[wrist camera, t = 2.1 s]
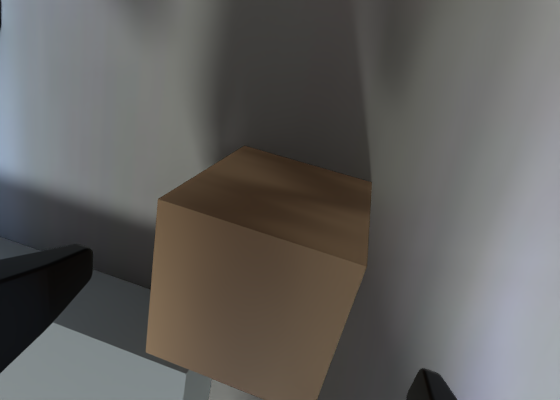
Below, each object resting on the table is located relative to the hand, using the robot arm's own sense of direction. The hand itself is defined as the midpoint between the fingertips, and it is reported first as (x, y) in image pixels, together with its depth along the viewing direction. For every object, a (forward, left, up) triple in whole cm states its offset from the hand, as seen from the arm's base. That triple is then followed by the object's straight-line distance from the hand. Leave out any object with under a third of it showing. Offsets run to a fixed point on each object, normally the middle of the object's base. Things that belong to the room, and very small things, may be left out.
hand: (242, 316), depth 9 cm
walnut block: (0, 0, -6) cm, 6 cm away
